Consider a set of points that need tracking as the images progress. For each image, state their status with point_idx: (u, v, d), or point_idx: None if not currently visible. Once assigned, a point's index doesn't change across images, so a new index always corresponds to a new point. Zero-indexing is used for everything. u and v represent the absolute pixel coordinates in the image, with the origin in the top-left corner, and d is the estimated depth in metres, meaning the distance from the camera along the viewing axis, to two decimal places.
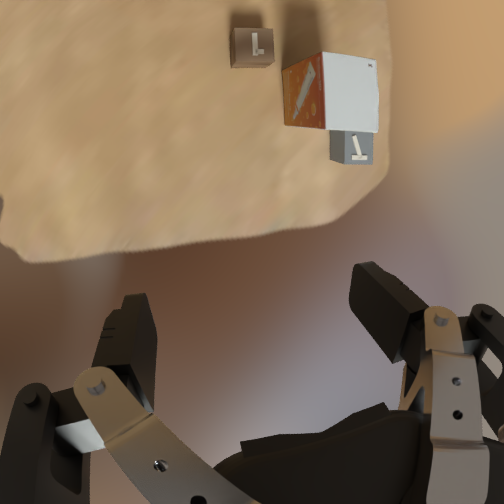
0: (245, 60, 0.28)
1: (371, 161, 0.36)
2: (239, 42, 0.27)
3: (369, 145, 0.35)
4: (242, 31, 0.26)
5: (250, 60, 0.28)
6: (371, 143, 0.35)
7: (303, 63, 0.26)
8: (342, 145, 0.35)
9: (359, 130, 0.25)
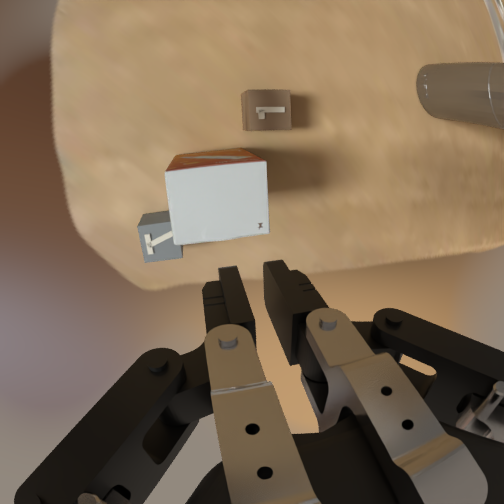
0: (249, 99, 0.27)
1: (148, 260, 0.32)
2: (271, 93, 0.27)
3: (166, 255, 0.32)
4: (285, 97, 0.28)
5: (249, 105, 0.27)
6: (168, 257, 0.33)
7: (249, 154, 0.26)
8: (158, 221, 0.31)
9: (171, 218, 0.22)
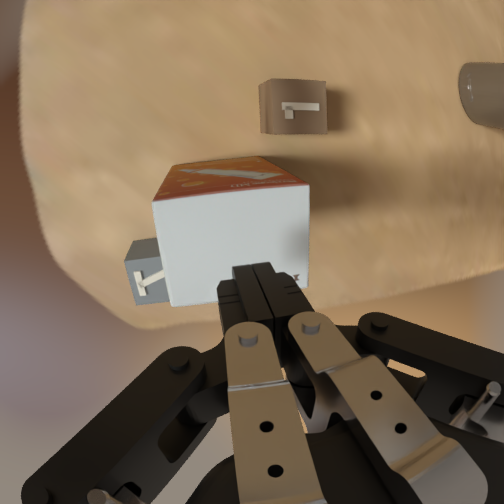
0: (272, 92, 0.20)
1: (140, 303, 0.25)
2: (301, 85, 0.20)
3: (162, 296, 0.25)
4: (320, 91, 0.20)
5: (273, 99, 0.20)
6: (166, 299, 0.25)
7: (276, 169, 0.18)
8: (151, 254, 0.24)
9: (165, 270, 0.15)
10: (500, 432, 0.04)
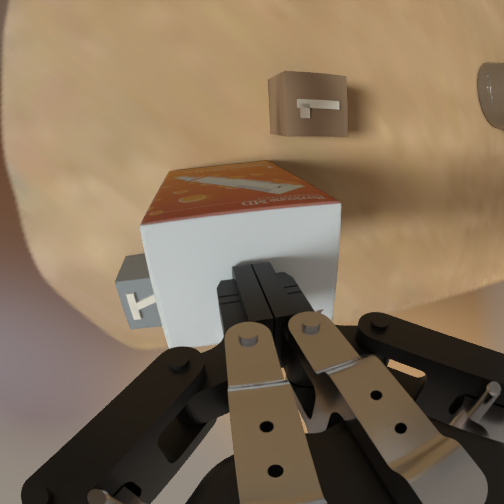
0: (286, 86, 0.16)
1: (134, 327, 0.22)
2: (319, 79, 0.16)
3: (159, 320, 0.22)
4: (340, 87, 0.17)
5: (286, 95, 0.17)
6: None
7: (293, 178, 0.15)
8: (145, 274, 0.21)
9: (159, 309, 0.12)
10: (500, 432, 0.04)
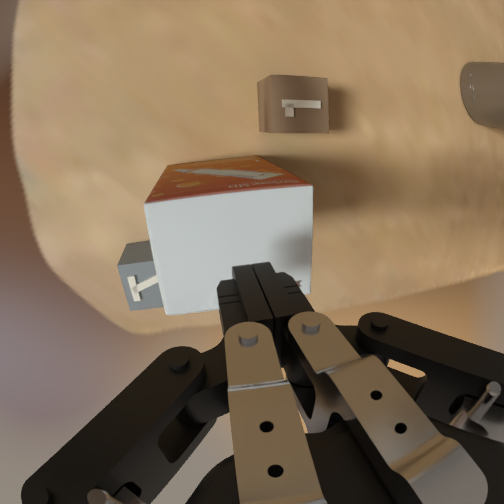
0: (272, 88, 0.19)
1: (134, 308, 0.24)
2: (302, 82, 0.19)
3: (158, 302, 0.24)
4: (321, 88, 0.19)
5: (272, 96, 0.19)
6: (161, 304, 0.24)
7: (276, 168, 0.17)
8: (145, 258, 0.23)
9: (158, 277, 0.14)
10: (500, 431, 0.04)
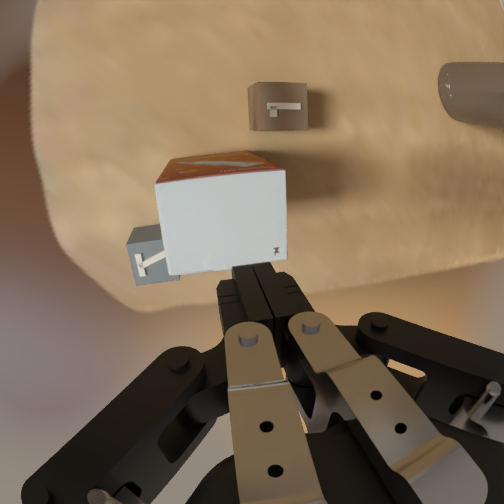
0: (259, 93, 0.22)
1: (140, 283, 0.27)
2: (284, 87, 0.22)
3: (160, 277, 0.28)
4: (301, 92, 0.23)
5: (259, 100, 0.23)
6: (163, 279, 0.28)
7: (260, 159, 0.21)
8: (151, 238, 0.26)
9: (164, 243, 0.17)
10: (500, 431, 0.04)
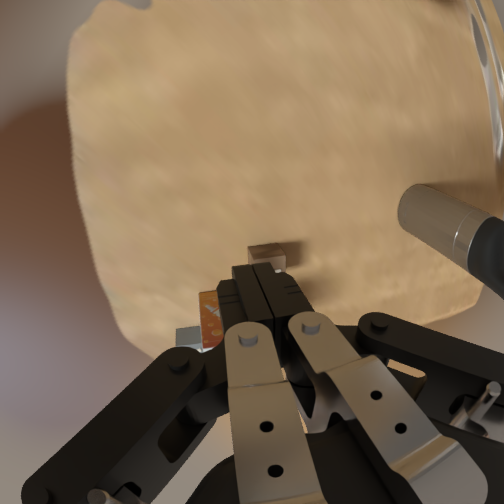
0: None
1: None
2: (271, 260, 0.40)
3: None
4: (282, 261, 0.40)
5: None
6: None
7: None
8: (190, 342, 0.44)
9: None
10: (500, 431, 0.04)
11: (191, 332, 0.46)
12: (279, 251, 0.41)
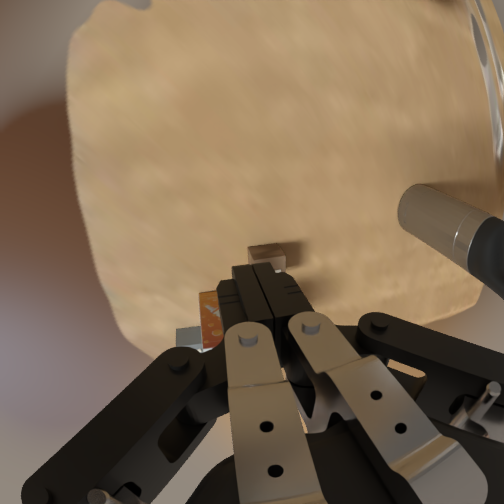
0: None
1: None
2: (271, 260, 0.40)
3: None
4: (282, 262, 0.40)
5: None
6: None
7: None
8: (190, 342, 0.44)
9: None
10: (500, 432, 0.04)
11: (191, 332, 0.46)
12: (279, 251, 0.41)
